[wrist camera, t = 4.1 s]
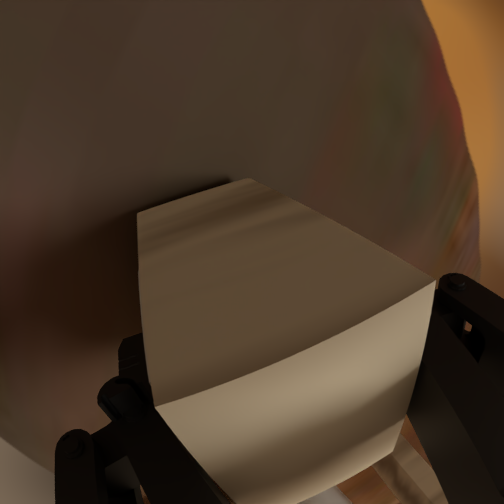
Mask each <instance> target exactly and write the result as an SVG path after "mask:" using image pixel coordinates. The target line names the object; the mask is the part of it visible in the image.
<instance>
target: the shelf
mask: <svg viewBox="0 0 504 504" xmlns="http://www.w3.org/2000/svg"><path fill="white" fill-rule="evenodd" d="M372 466H373V468H374V469H375V470H376V472H377V473H378V474H379V476H380V477H381V478H382V479H383V481H384V482H385V483H386V485H387V486H388V487H389V488H390V490H391V491H392V492H393V493H394V495H395V496H396V497H397V499H398V500H399V501H400V502H401V504H448V501H447V499H446V497H445V494H444V492H443V490H442V487H441V485H440V483H439V481H438V479H437V476H436V474H435V472H434V471H433V470H432V468H431V467H430V466H429V465H428V464H427V463H426V462H425V461H424V459H423V458H422V457H421V456H420V455H419V454H418V453H417V452H416V450H415V449H414V448H413V447H412V446H411V445H410V444H409V443H408V441H407V440H406V439H405V438H404V437H403V436H402V435H401V433H399V436H398V439H397V441H396V444H395V447H394V449H393V452H391V453H390V454H388V455H387V456H385V457H383V458H382V459H380V460H379V461H377V462H375V463H374V464H372Z"/></svg>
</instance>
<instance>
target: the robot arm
mask: <svg viewBox="0 0 504 504" xmlns="http://www.w3.org/2000/svg"><path fill="white" fill-rule="evenodd" d="M138 282H139V297H140V309H141V321H142V331H143V333H140V334H137V335H134V336H131V337H128V338H125V339H123V341H122V343H121V345H120V347H119V349H118V360H119V376H116V377H113V378H112V379H110V380H109V381H108V382H106V383H105V384H104V385H103V387H102V388H101V389H100V391H99V394H98V397H97V400H98V405H99V406H100V408H101V409H102V410H103V411H104V412H105V413H106V415H107V416H108V417H109V418H110V419H111V420H112V422H111V423H109V424H108V425H107V426H105V427H104V428H102V429H100V430H98V431H97V432H95V433H93V434H92V435H90V434H89V433H88V432H87V431H84V430H82V429H73V430H71V431H69V432H66V433H65V434H64V435H63V436H62V437H61V438H60V440H59V441H58V443H57V445H56V450H55V500H56V501H55V504H144V503H143V499H142V494H141V489H140V485H141V486H142V488H143V490H144V492H145V494H146V495H147V497H148V499H149V501H150V503H151V504H230V502H229V501H228V500H227V499H226V497H225V496H224V495H223V494H222V492H221V491H220V490H219V488H218V487H217V486H216V484H215V483H214V482H213V480H212V479H211V478H210V476H209V475H208V474H207V472H206V471H205V470H204V469H203V467H202V466H201V465H200V464H199V463H198V462H197V461H196V459H195V458H194V457H193V456H192V455H191V453H190V452H189V451H188V450H187V449H186V447H185V446H184V445H183V444H182V442H181V441H180V440H179V439H178V437H177V436H176V435H175V434H174V432H173V431H172V430H171V428H170V427H169V426H168V425H167V423H166V422H165V421H164V419H163V418H162V417H161V415H160V414H159V412H158V411H157V410H156V408H155V406H154V400H153V394H152V388H151V382H150V375H149V368H148V361H147V353H146V345H145V336H144V327H143V317H142V306H141V294H140V279H139V271H138ZM466 321H467V322H468V323H470V324H471V325H472V329H471V331H470V332H468V331H466V330H465V329H464V328H465V325H466ZM406 414H407V416H408V418H409V420H410V422H411V424H412V426H413V428H414V430H415V432H416V434H417V436H418V438H419V440H420V442H421V444H422V446H423V448H424V451H425V453H426V455H427V457H428V459H429V461H430V463H431V465H432V468H433V470H434V472H435V474H436V476H437V479H438V481H439V483H440V485H441V487H442V490H443V492H444V494H445V497H446V499H447V501H448V504H504V299H503V298H501V297H500V296H498V295H497V294H495V293H493V292H492V291H490V290H489V289H487V288H485V287H484V286H482V285H481V284H479V283H477V282H476V281H474V280H473V279H471V278H469V277H467V276H465V275H463V274H459V273H448V274H446V275H443V276H442V277H441V278H440V280H439V285H438V289H436V290H435V291H434V298H433V304H432V310H431V316H430V321H429V326H428V331H427V336H426V341H425V346H424V350H423V355H422V359H421V363H420V367H419V371H418V375H417V378H416V382H415V386H414V389H413V393H412V396H411V400H410V403H409V406H408V409H407V412H406Z"/></svg>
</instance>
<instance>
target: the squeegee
mask: <svg viewBox="0 0 504 504" xmlns="http://www.w3.org/2000/svg"><path fill="white" fill-rule="evenodd" d="M137 236H138V262H139V279H140V294H141V306H142V317H143V327H144V336H145V345H146V353H147V361H148V368H149V375H150V382H151V388H152V394H153V400H154V406H155V408H156V410H157V411H158V412H159V414H160V415H161V417H162V418H163V419H164V421H165V422H166V423H167V425H168V426H169V427H170V428H171V430H172V431H173V432H174V434H175V435H176V436H177V437H178V439H179V440H180V441H181V442H182V444H183V445H184V446H185V447H186V449H187V450H188V451H189V452H190V453H191V455H192V456H193V457H194V458H195V459H196V461H197V462H198V463H199V464H200V465H201V466H202V467H203V469H204V470H205V471H206V472H207V473H208V474H209V475H210V476H211V478H212V479H213V480H214V481H215V482H216V483H217V484H218V485H219V486H220V487H221V488H222V489H223V491H224V492H225V493H226V494H227V495H228V496H229V497H230V498H231V499H232V500H233V501H234V502H235V503H236V504H297V503H299V502H302V501H304V500H306V499H308V498H310V497H313V496H315V495H317V494H319V493H321V492H323V491H325V490H327V489H329V488H331V487H333V486H335V485H337V484H339V483H341V482H343V481H344V480H346V479H348V478H350V477H352V476H353V475H355V474H357V473H359V472H360V471H362V470H364V469H366V468H367V467H369V466H371V465H372V464H374V463H375V462H377V461H379V460H380V459H382V458H383V457H385V456H387V455H388V454H390V453H391V452H393V449H394V447H395V444H396V441H397V439H398V436H399V433H400V430H401V427H402V425H403V422H404V419H405V416H406V412H407V409H408V406H409V403H410V400H411V396H412V393H413V389H414V386H415V382H416V378H417V375H418V371H419V367H420V363H421V359H422V355H423V350H424V346H425V341H426V336H427V331H428V326H429V321H430V316H431V310H432V304H433V298H434V291H435V284H436V280H435V279H433V278H432V277H430V276H429V275H427V274H425V273H424V272H422V271H420V270H419V269H417V268H415V267H414V266H412V265H410V264H409V263H407V262H405V261H404V260H402V259H400V258H399V257H397V256H395V255H394V254H392V253H390V252H388V251H387V250H385V249H383V248H381V247H380V246H378V245H376V244H374V243H373V242H371V241H369V240H367V239H366V238H364V237H362V236H360V235H358V234H357V233H355V232H353V231H351V230H349V229H348V228H346V227H344V226H342V225H340V224H339V223H337V222H335V221H333V220H331V219H329V218H327V217H325V216H324V215H322V214H320V213H318V212H316V211H314V210H312V209H310V208H308V207H307V206H305V205H303V204H301V203H299V202H297V201H295V200H293V199H291V198H289V197H287V196H285V195H283V194H281V193H279V192H277V191H275V190H273V189H271V188H269V187H267V186H265V185H263V184H261V183H259V182H257V181H255V180H253V179H251V178H246V179H242V180H239V181H235V182H232V183H228V184H225V185H222V186H218V187H215V188H212V189H209V190H205V191H202V192H199V193H196V194H193V195H189V196H186V197H183V198H180V199H177V200H174V201H171V202H168V203H165V204H162V205H159V206H156V207H153V208H150V209H147V210H145V211H142V212H139V213H137Z"/></svg>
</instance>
